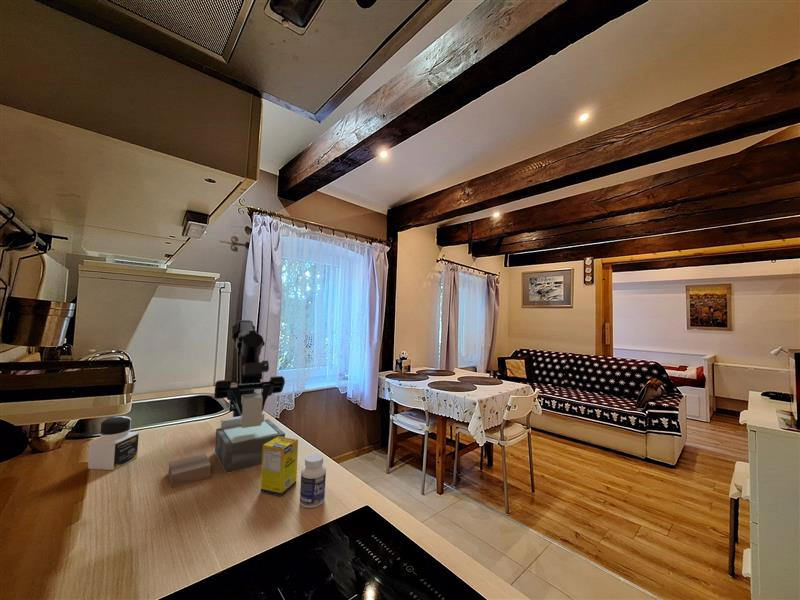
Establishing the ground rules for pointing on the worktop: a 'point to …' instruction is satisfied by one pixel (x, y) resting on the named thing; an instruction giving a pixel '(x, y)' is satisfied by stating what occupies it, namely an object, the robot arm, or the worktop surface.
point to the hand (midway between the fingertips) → (251, 412)
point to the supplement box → (279, 465)
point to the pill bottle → (313, 481)
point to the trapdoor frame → (242, 450)
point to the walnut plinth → (189, 470)
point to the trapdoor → (244, 430)
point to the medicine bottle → (113, 445)
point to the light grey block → (251, 410)
